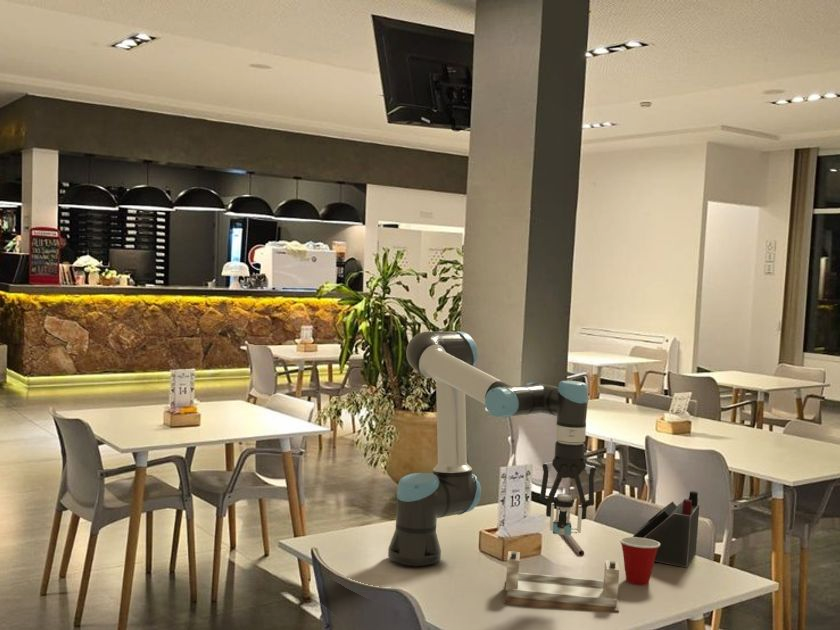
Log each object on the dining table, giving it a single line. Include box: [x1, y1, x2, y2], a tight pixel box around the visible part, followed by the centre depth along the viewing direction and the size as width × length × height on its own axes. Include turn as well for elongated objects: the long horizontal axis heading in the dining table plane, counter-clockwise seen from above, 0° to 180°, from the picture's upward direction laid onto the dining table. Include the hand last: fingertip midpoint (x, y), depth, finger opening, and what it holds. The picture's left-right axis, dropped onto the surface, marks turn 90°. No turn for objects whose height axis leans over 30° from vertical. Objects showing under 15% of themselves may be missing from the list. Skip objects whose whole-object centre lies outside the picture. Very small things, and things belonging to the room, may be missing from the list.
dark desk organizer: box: [632, 490, 700, 568], centre depth 266 cm, size 16×16×20 cm
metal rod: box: [563, 534, 585, 556], centre depth 279 cm, size 2×27×2 cm, turn 4°
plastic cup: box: [619, 536, 660, 586], centre depth 244 cm, size 11×11×12 cm
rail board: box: [504, 550, 620, 613], centre depth 231 cm, size 28×17×11 cm, turn 82°
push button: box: [552, 493, 578, 536], centre depth 231 cm, size 7×5×10 cm
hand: (565, 529), depth 232 cm, fingers closed on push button, 6 cm apart
